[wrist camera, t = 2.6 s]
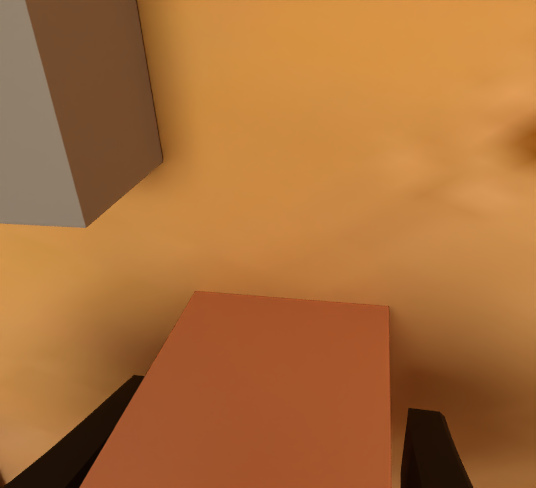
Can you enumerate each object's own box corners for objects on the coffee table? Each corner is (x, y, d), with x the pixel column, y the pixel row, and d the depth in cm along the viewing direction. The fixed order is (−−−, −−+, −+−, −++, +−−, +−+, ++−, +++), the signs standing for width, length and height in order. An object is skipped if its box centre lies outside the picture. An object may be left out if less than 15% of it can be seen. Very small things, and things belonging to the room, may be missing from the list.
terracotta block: (377, 442, 13) (372, 757, 8) (215, 420, 14) (115, 688, 9) (388, 305, 11) (392, 618, 5) (195, 290, 11) (44, 546, 6)
